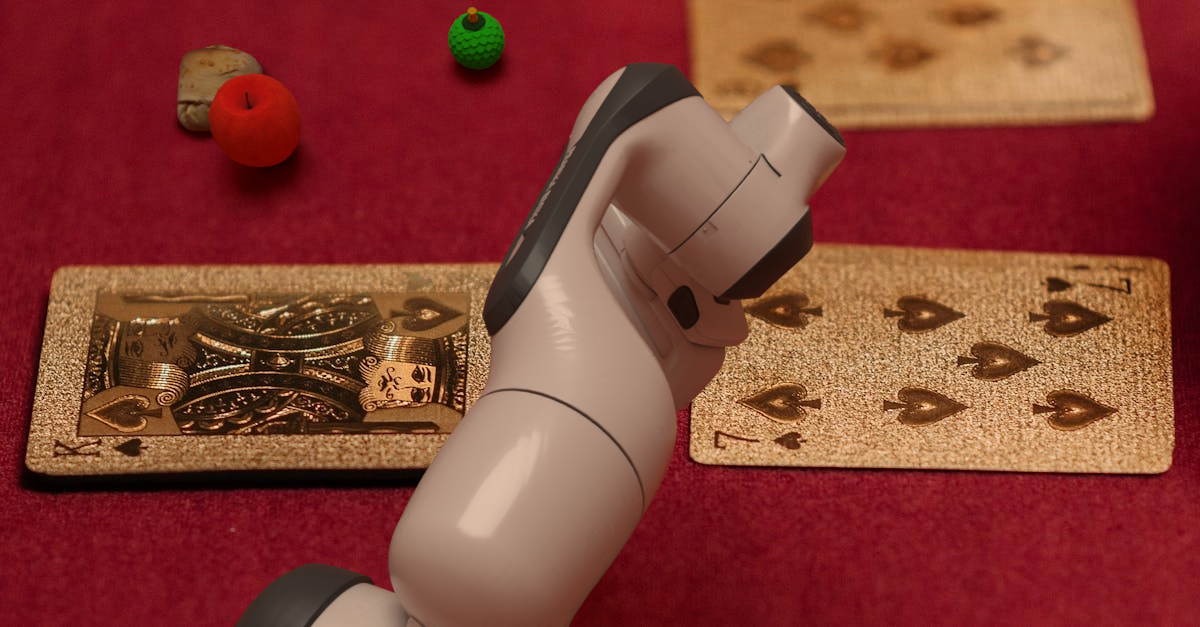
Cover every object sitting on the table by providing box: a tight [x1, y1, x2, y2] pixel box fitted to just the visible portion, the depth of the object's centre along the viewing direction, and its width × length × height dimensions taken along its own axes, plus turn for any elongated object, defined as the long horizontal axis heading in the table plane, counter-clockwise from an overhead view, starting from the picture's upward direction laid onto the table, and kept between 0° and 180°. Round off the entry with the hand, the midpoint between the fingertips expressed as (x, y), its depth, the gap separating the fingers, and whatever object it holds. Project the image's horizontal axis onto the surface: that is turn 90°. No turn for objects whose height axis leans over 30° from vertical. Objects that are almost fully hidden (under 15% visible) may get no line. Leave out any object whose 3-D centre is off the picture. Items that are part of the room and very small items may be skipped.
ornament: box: [447, 6, 506, 71], centre depth 155 cm, size 8×8×10 cm
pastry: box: [176, 43, 264, 132], centre depth 153 cm, size 14×12×8 cm
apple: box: [208, 73, 303, 168], centre depth 146 cm, size 12×12×13 cm
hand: (571, 355), depth 94 cm, fingers closed on small box, 6 cm apart
